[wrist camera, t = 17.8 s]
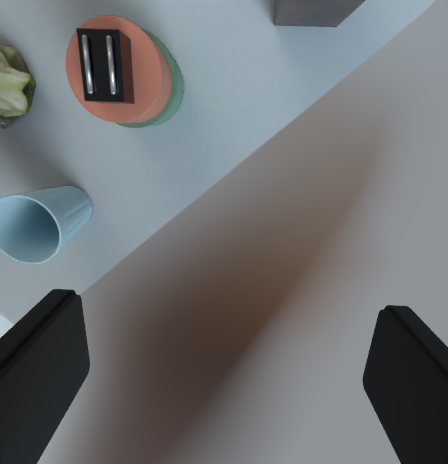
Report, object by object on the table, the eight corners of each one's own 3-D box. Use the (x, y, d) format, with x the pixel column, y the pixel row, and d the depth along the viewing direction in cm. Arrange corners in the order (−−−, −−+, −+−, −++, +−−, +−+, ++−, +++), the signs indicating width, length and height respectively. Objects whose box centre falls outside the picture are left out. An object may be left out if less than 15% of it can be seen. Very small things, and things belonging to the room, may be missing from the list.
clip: (130, 38, 25) (116, 26, 22) (134, 104, 27) (122, 101, 24) (92, 37, 25) (72, 25, 22) (98, 103, 27) (81, 100, 24)
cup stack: (184, 42, 35) (165, 9, 25) (186, 128, 38) (169, 130, 28) (104, 40, 35) (51, 6, 25) (112, 126, 38) (67, 127, 28)
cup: (110, 196, 41) (71, 219, 31) (88, 241, 43) (46, 276, 34) (56, 166, 40) (-1, 180, 30) (37, 214, 42) (-22, 242, 33)
